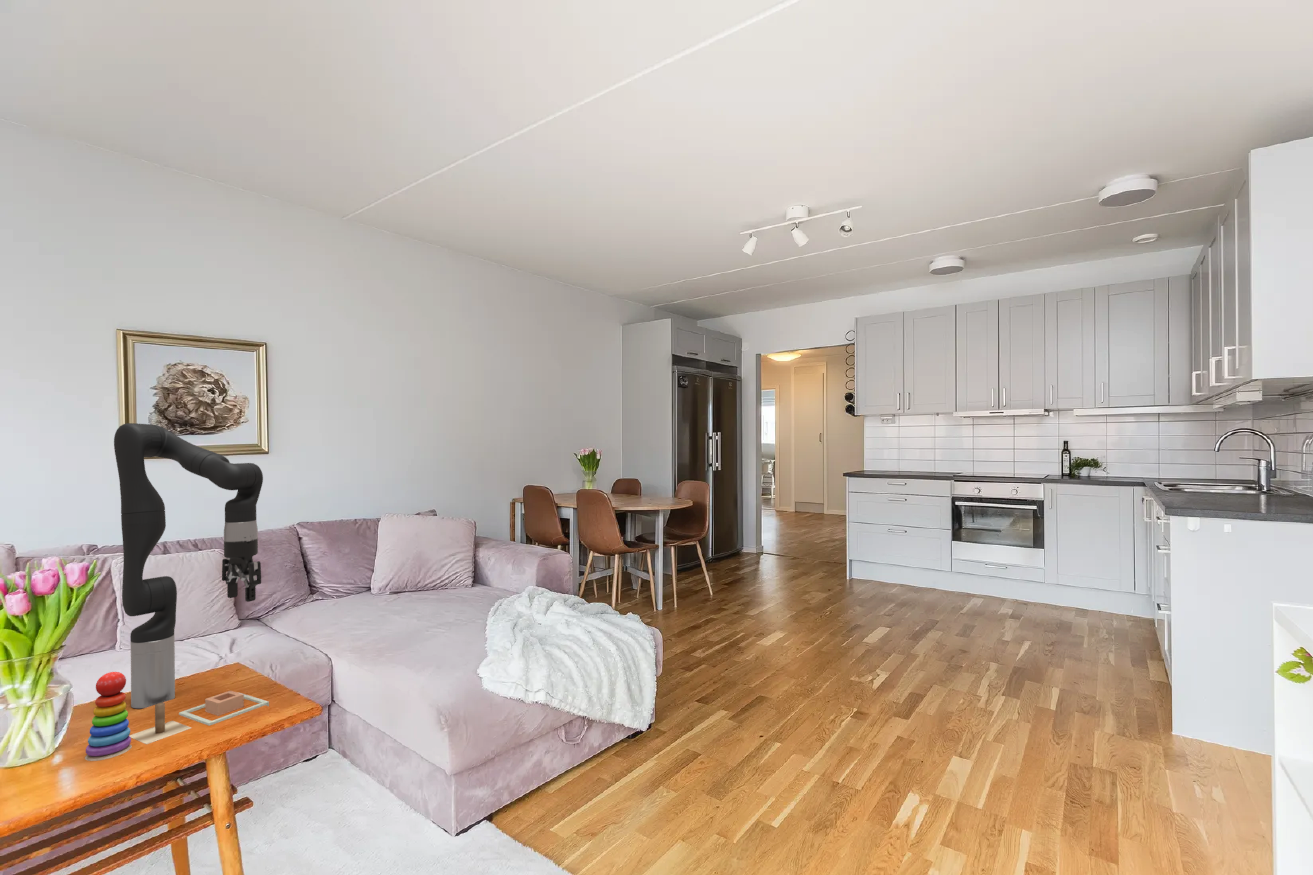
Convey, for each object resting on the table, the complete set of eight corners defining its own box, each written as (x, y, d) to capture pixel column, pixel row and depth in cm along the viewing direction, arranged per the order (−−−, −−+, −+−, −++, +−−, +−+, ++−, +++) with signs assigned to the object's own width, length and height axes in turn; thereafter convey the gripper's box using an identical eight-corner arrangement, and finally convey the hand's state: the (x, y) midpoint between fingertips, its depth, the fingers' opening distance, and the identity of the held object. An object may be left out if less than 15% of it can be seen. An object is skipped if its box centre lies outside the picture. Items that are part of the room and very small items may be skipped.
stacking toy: (104, 769, 132) (103, 680, 132) (74, 766, 133) (73, 678, 133) (141, 751, 139) (141, 667, 140) (113, 748, 141) (112, 665, 141)
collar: (205, 714, 157) (205, 698, 157) (234, 704, 163) (234, 689, 163) (218, 719, 154) (217, 703, 154) (247, 708, 160) (247, 693, 160)
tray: (179, 720, 155) (178, 712, 155) (238, 699, 167) (238, 692, 167) (209, 731, 148) (209, 723, 148) (269, 709, 161) (268, 701, 161)
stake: (127, 742, 144) (127, 707, 144) (172, 726, 152) (172, 693, 152) (146, 750, 139) (146, 715, 140) (191, 733, 147) (191, 700, 148)
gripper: (211, 538, 165) (211, 599, 165) (240, 542, 158) (241, 605, 158) (241, 534, 172) (241, 593, 171) (270, 537, 165) (271, 598, 165)
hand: (241, 599), depth 165 cm, fingers open, 8 cm apart
